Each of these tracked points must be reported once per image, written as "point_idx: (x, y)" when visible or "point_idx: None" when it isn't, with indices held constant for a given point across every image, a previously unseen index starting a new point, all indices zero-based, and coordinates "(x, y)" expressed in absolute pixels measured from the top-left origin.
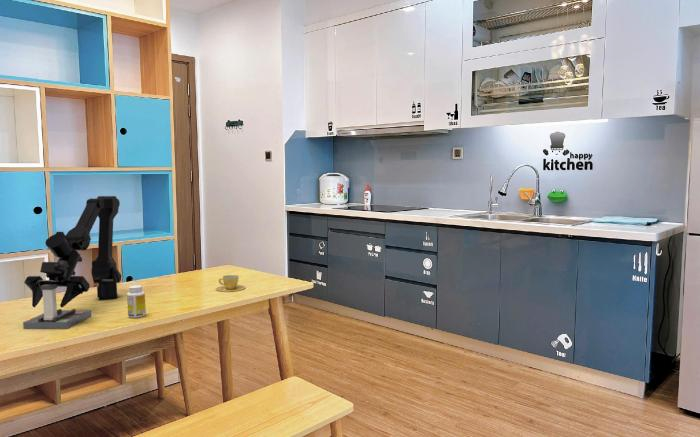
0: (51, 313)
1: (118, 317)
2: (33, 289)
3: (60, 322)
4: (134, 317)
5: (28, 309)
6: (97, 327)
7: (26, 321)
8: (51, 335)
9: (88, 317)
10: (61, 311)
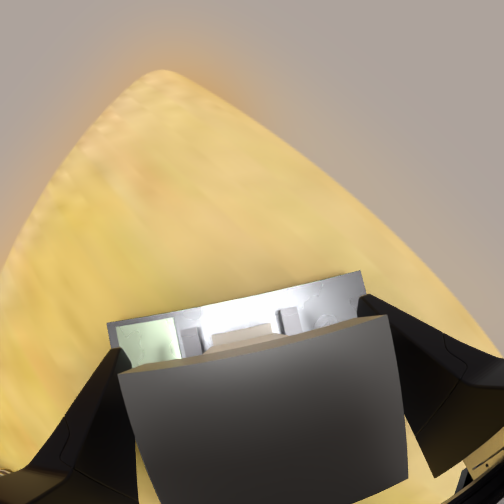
0: (222, 346)
1: None
2: (494, 366)
3: (142, 318)
4: (4, 470)
5: None
6: (24, 359)
7: (358, 288)
8: (124, 221)
9: None
10: None
